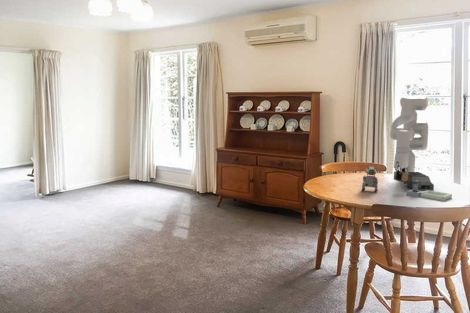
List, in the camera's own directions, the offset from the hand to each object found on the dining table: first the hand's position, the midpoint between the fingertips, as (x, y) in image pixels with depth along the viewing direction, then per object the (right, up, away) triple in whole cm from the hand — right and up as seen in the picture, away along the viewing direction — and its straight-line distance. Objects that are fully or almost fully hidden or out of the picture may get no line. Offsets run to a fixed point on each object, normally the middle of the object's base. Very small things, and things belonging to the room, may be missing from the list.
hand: (400, 178), depth 260 cm
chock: (0, -1, 0) cm, 1 cm away
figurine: (-18, -8, +4) cm, 20 cm away
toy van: (+14, -8, +9) cm, 19 cm away
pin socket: (+5, -9, -8) cm, 13 cm away
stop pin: (+5, -9, -8) cm, 13 cm away
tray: (+15, -10, -13) cm, 23 cm away
